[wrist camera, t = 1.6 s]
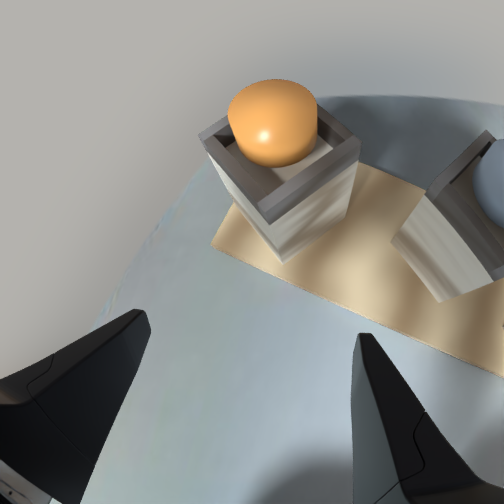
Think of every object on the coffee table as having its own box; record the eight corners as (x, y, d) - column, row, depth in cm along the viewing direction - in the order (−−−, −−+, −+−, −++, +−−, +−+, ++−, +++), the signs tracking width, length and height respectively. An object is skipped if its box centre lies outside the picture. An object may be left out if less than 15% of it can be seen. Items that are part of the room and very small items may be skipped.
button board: (538, 393, 16) (615, 399, 6) (214, 248, 25) (155, 187, 15) (565, 279, 18) (633, 248, 8) (274, 138, 27) (255, 48, 17)
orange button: (269, 183, 14) (262, 159, 12) (222, 133, 15) (211, 108, 13) (334, 138, 14) (336, 111, 12) (282, 95, 15) (278, 68, 13)
